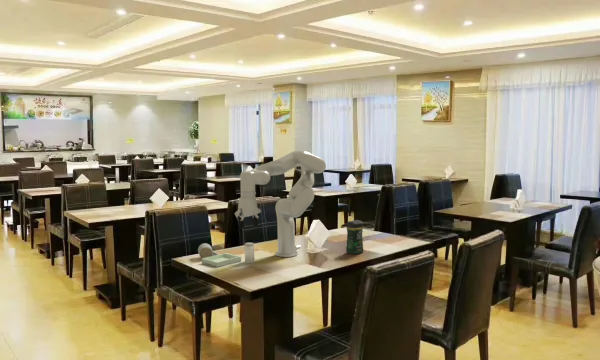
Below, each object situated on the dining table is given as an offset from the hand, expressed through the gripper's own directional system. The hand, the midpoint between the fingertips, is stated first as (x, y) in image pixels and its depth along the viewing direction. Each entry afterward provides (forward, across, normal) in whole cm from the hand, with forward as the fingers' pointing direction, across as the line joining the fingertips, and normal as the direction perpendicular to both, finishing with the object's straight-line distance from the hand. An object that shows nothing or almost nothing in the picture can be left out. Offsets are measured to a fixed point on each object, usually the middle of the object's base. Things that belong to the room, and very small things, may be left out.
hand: (248, 226), depth 256 cm
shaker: (+19, 0, 0) cm, 19 cm away
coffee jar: (+18, -52, +31) cm, 64 cm away
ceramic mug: (+19, +8, -25) cm, 32 cm away
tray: (+19, +10, -11) cm, 24 cm away
